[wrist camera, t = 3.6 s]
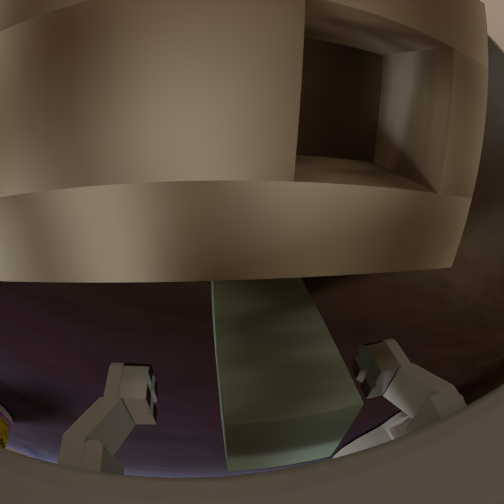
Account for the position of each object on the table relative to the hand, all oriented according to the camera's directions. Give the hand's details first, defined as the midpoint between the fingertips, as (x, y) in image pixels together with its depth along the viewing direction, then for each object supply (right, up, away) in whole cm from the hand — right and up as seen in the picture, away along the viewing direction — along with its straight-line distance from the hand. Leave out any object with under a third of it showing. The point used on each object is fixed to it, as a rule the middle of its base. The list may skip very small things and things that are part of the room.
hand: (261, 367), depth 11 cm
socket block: (-2, +12, +1) cm, 12 cm away
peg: (-1, +3, +6) cm, 7 cm away
